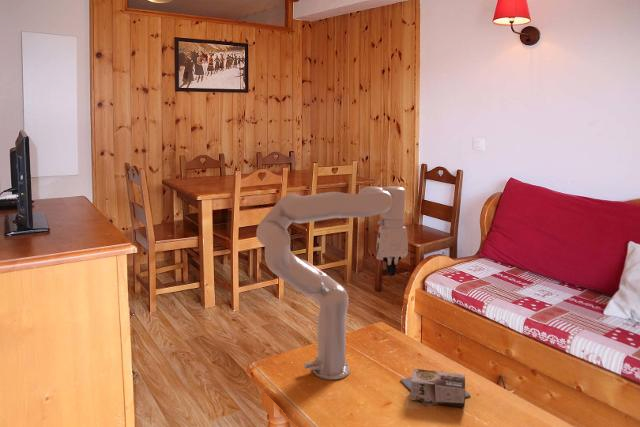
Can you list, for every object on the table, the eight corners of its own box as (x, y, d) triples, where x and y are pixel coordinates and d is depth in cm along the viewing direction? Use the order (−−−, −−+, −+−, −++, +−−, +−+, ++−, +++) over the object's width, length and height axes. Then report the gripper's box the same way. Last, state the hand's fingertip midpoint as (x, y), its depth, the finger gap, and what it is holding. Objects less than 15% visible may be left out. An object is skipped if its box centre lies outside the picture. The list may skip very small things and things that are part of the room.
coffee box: (410, 400, 162) (464, 408, 158) (410, 381, 161) (465, 388, 157) (413, 386, 171) (464, 393, 166) (413, 367, 170) (465, 374, 165)
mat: (425, 406, 160) (425, 404, 160) (400, 380, 175) (400, 379, 175) (470, 396, 165) (470, 395, 165) (442, 372, 180) (442, 371, 180)
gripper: (376, 226, 173) (374, 280, 177) (417, 224, 177) (415, 276, 181) (367, 221, 180) (366, 273, 184) (407, 219, 184) (405, 269, 188)
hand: (390, 274), depth 182 cm, fingers closed
